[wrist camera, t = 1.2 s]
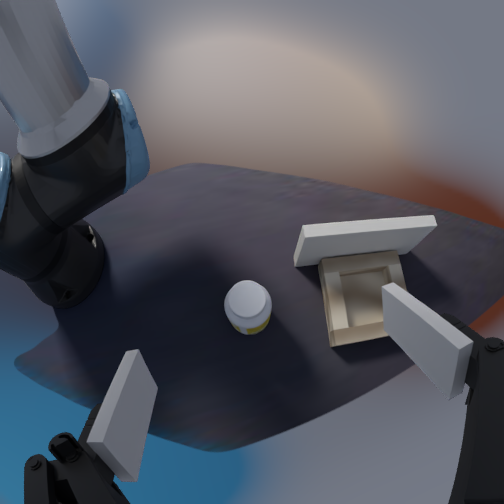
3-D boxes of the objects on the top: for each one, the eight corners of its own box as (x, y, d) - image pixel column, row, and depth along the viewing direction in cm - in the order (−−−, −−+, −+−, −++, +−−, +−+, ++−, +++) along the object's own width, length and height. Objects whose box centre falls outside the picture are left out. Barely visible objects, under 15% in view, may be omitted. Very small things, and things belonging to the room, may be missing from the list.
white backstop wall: (406, 253, 43) (437, 225, 34) (295, 266, 43) (305, 237, 33) (403, 244, 43) (433, 215, 34) (293, 256, 43) (302, 225, 34)
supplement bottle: (274, 301, 41) (279, 281, 32) (263, 340, 39) (265, 331, 30) (236, 290, 42) (230, 267, 32) (224, 328, 40) (213, 316, 31)
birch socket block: (404, 332, 39) (414, 329, 36) (330, 347, 38) (335, 345, 36) (389, 257, 43) (397, 250, 40) (317, 266, 43) (321, 259, 40)
